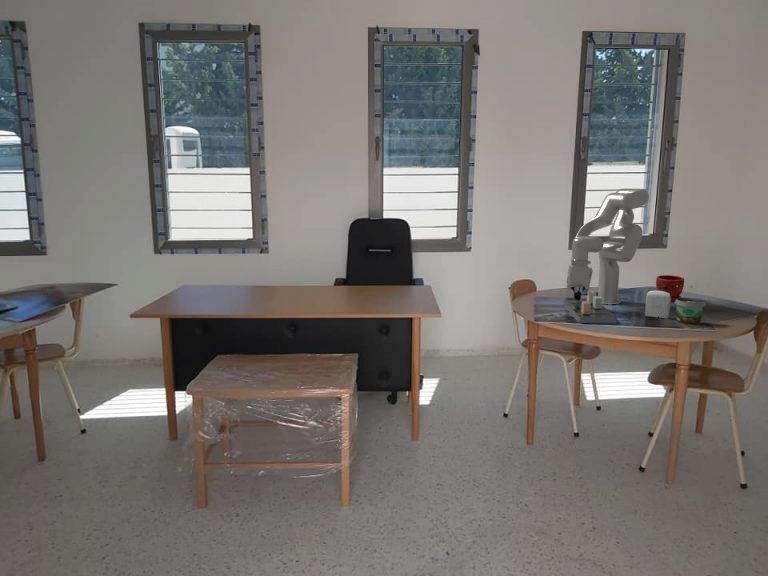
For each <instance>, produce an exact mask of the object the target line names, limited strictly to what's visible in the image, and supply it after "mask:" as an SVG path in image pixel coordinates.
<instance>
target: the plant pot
mask: <svg viewBox="0 0 768 576" xmlns="http://www.w3.org/2000/svg"><path fill="white" fill-rule="evenodd" d="M655 279H656V281H655V286H656V291H664V292H667V293H669V294H670V297H671V301H670V302H675V301H676V299H677V300H679V301H681V300H680V299H681V298H682V297H681V294H682V293H683V290H684V286H685V278H684V277H682V276H677V275H671V274H670V275H669V274H664V275H662V274H661V275H658V276H656V278H655Z"/></svg>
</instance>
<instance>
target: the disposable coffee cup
mask: <svg viewBox="0 0 768 576" xmlns="http://www.w3.org/2000/svg"><path fill="white" fill-rule="evenodd" d="M593 272H594V271H593V267H592V266H589V273H590V283H591V280H592V277H593V276H592V275H593ZM590 283H589V287H590V286H591V284H590ZM578 290H579V287H577V291H578ZM588 292H590V288H589V289H585V290H583V291H582V293H581V296H582V295H583V296H584V295H588Z"/></svg>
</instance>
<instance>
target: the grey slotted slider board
mask: <svg viewBox="0 0 768 576" xmlns="http://www.w3.org/2000/svg"><path fill="white" fill-rule="evenodd" d="M582 301H585V300H581V299H580V301H578V300H577V301H576V300H575V299H574V300H573V299H571V300H566V299H565V300H563V307H564V308H565V310H566V311H567V312H568V311H569V312H568V313H569V314H570V316H572V318H574V319H575V320H576V321H577V323H578V322H579V323H590V325H592V324H593V325H594V324H596V325H597V324H599V325H601V324H603V325H605V324H606V325H607V324H608V325H610V324H611V325H612V324H613V325H616V324H617V316H616V315H614V313H612V312H611V311H610V310H608V309H607V308H606V307H605V306H604V305H602V309H595V308H594V307H593V303H591V310H590V314H583V313H582V312H581V304H582ZM579 323H578V324H579Z"/></svg>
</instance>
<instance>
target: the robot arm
mask: <svg viewBox="0 0 768 576" xmlns="http://www.w3.org/2000/svg"><path fill="white" fill-rule="evenodd" d="M649 199H650V194H649V191H648V190H646V189H644V188H620V189H617V190H616V192H611V193H608V194H607V195H606V196H605V197H604V199H603V201H602V202H601V205H600V207H599V209H598V210H597V212H596V213H595V216H594V217H593V218H591V219H589V220H588V221H587V222H586V223H584V224H583V225H582V226H581V227H580V228H579V229H578V232H577V233H576V235H575V237H574V238H573V240H572V246H571V265H569V267H568V271H567V276H566V288H567V289H569V290H572V291H573V299H574V300H576V301H577V300H578V301H580V300H581V299H582V295H581V293H582V291H583V290H585V289H589V290H590V286H589V283H591V281H590V273H589V267H590V266H589V265H590V264H591V263H592V262H591V260H589V253H598V258H599V259H598V260H599V270H598V271H599V275H598V289H597V290H598V291H597V292H598V293H597V296H600V297H601V298H602V305H606V304H608V305H611V306H613V305H612V304H616V305H620V304H621V303H622V301H621V300H628V298H629V297H628V295H623V294H620V293H619V282H620V279H619V278H620V265H619V262H621V263H628V262H631V261H632V260H633V258H634V256H635V255H636V252H637V250H638V248H639V246H640V243H641V241H642V237H643V229H642V227H641V225H639V224H636V223H634V220H635V214H634V213H635V212H634V211H633V210H635V209H638V208H640V207H641V208H642V207H644V206H645V205H646V204H647V203H648V201H649ZM609 226H611V227H610V230H609V233H608V237H609V239H611V240H612V241H603V240H602V239H601V238H600V237H597V236H590V235H592V233H594V232H596V231H598V230H601V229H604V228H607V227H609ZM577 287H579V290H578V291H577ZM619 303H620V304H619Z"/></svg>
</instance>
